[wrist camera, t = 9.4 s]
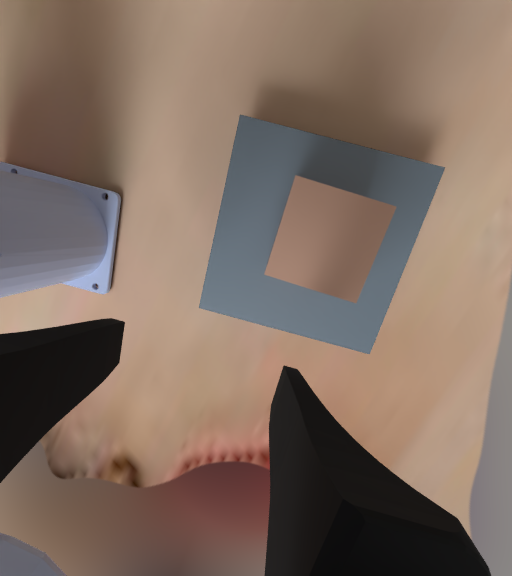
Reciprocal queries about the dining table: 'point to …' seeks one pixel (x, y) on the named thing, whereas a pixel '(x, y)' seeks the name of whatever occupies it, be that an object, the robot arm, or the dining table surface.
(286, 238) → the pale pink cube
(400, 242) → the base board
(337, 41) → the dining table surface
